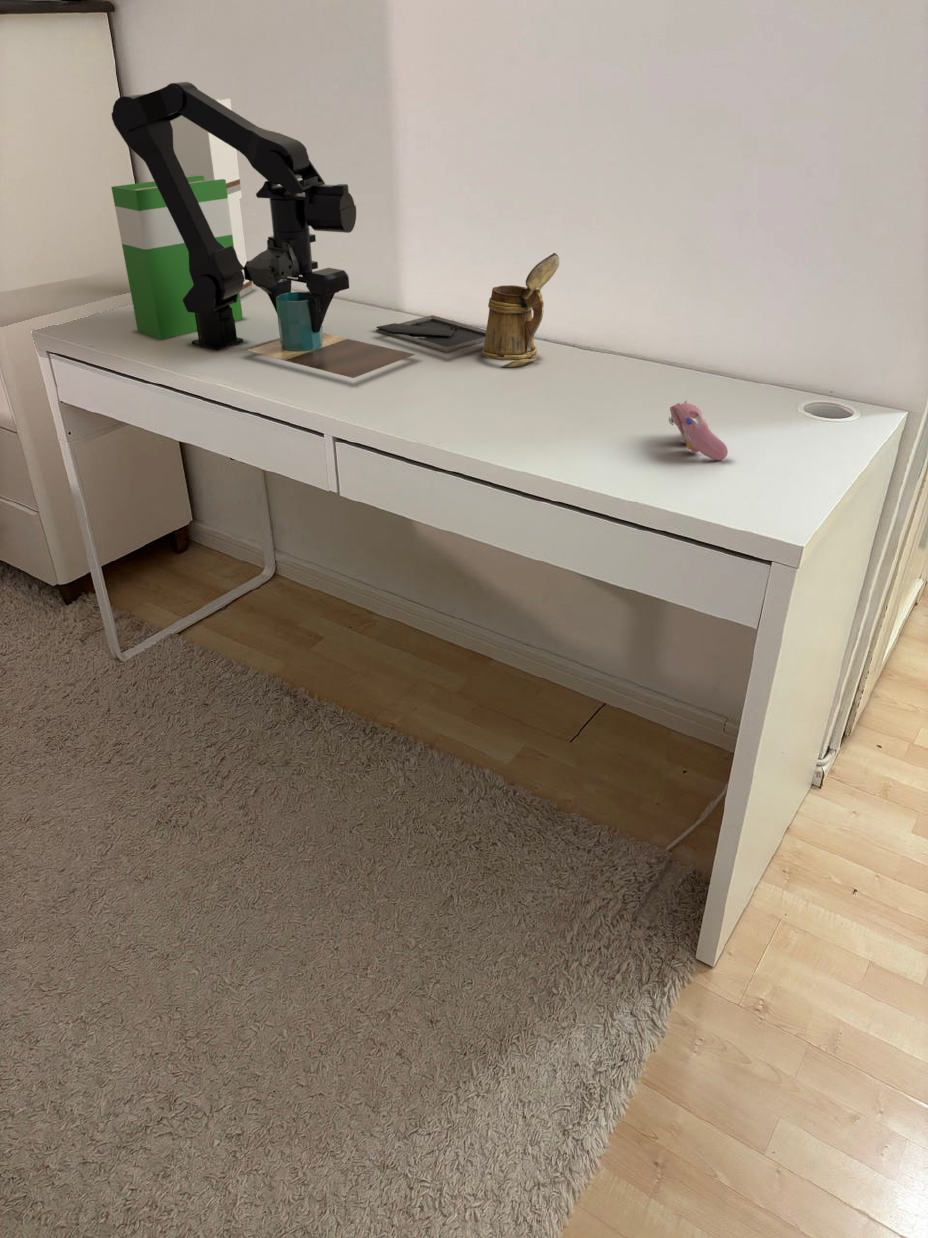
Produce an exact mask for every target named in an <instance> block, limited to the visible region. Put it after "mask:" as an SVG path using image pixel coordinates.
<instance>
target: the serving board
mask: <svg viewBox="0 0 928 1238" xmlns="http://www.w3.org/2000/svg"><path fill="white" fill-rule="evenodd" d="M245 351H246V352H250V353H253V354H258V355H262V356H265V357H270V358H273V359H278V360H282V361H285V362H289V363H292V364H297V365H301V366H305V367H308V368H313V369H316V370H321V371H325V372H327V373H331V374H336V375H340V376H344V377H348V378H351V379H355V378H358V377H361V376H363V375H366V374H368V373H370V372H374V371H376V370H378V369H381V368H383V367H386V366H389V365H391V364H394V363H397V362H400V361H401V360H404V359H407V358H410V357H412V356H415V355H416V353H412V352H408V351H403V350H399V349H395V348H390V347H387V346H382V345H378V344H372V343H369V342H364V341H359V340H355V339H350V338H347V337H341V336H337V335H332V334H329V333H323V346H322V347H320V348H318V349H315V350H311V351H289V350H285V349H283V348H282V347H281V343H280V339H278V340H274V341H272V342H268V343H265V344H262V345H259V346H256V347H252V348H249V349H246V350H245Z"/></svg>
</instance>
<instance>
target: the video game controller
mask: <svg viewBox="0 0 928 1238" xmlns="http://www.w3.org/2000/svg"><path fill="white" fill-rule="evenodd" d="M669 411H670V415H671V416H668V422H669V424H670V425H672V426H674V425H675V426H676V427H677V429H678V431H679V433H680V435H681V436H682V438H683V441H684V442H685V444H686V448H687V449H688V450H690V451H691V452H692V454H694V455H695V454H697V453H699V452H700V453H701V454H702V455H704V456H705V457H708V458H709V459H711V460H713V461H722V460H725V459H726V458H727V456H728V452H729V450H728V447H727V445H726V444H725V442H723V441H722V440H721V439H719V438H718V436H716V435H715V434H714V433H713V431H711V430H710V428H709V425H708V423H707V421H706V419H704V418H703V414H702V410H701V409H700V408H699V407H698V406H697V405H695V404H692V403H688V401H687V400H684V401H683V402H678V403H676V404H674V405H671V406H670V407H669Z"/></svg>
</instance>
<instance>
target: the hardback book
mask: <svg viewBox="0 0 928 1238" xmlns="http://www.w3.org/2000/svg"><path fill="white" fill-rule="evenodd" d="M186 178H187V180H188V182H189V184H190V186H191V188H192V191H193V193H194V195H195V197H196V199H197V201H198V203H199V205H200V207H201V210H202V212H203V214H204V216H205V218H206V220H207V222H208V224H209V226H210V229H211V231H212V233H213V235H214V237H215V239H216V240H217V241H218V242H219V243H220V244H221V245H222V246H223V247H224V248H226V247H229V246H233V248H234V244H233V236H232V228H231V220H230V212H229V204H228V196H227V187H226V180H225V179H219V180H212V181H204V176H194V177H186ZM111 193H112V198H113V204H114V210H115V214H116V219H117V225H118V232H119V236H120V242H121V247H122V252H123V258H124V264H125V268H126V269H125V270H126V274H127V279H128V285H129V290H130V296H131V301H132V307H133V313H134V318H135V323H136V328H137V332H138V333H141V334H144V335H147V336H150V337H153V338H155V339H158V340H163V339H168V338H173V337H176V336H181V335H184V334H188V333H193V332H197V326H196V319H195V313H192V312H188V311H187V309H186V307H185V305H184V303H183V298H184V297H185V296H186V295H187V293H188V292H189V291H190V289H191V288H192V287H193V285H194V284H193V281H192V278H191V275H190V272H189V253H188V249H187V247H186V245H185V243H184V241H183V239H182V237H181V235H180V233H179V231H178V229H177V227H176V225H175V222H174V220H173V218H172V216H171V214H170V212H169V210H168V208H167V206H166V204H165V202H164V200H163V198H162V196H161V194H160V192H159V190H158V188H157V185H156V183H155V181H154V180H153V181H146V182H138V183H130V184H123V185H122V184H121V185H114V186H113V185H112V186H111ZM230 307H231V308H232V311H233V317H234V319H235V322H238V321H243V320H244V317H243V310H242V300H241V297H240V292H239V295H238V300H237V302H236V303H233V304H230Z"/></svg>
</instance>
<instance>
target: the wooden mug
mask: <svg viewBox="0 0 928 1238" xmlns="http://www.w3.org/2000/svg"><path fill="white" fill-rule="evenodd" d="M559 266H560V257H559V255H558V254H557V253H556V252H553V253H551V254H550V255H549V256H547V257H545V258H544V259H542V260H541V261H540V262H538V263H537V264H536V265H535V266H534V267H533V268H532V269H531V270H530V272H529V273H528V275H527V276H526V279H525V286H520V285H515V284H513V285H498V286H493V287H492V289H491V290H492V291H491V295H490V297H489V299H488V304H487V307H488V309H489V311H488V317H487V323H486V329H485V330H486V336H485V342H484V343H483V347H482V350H481V353H482V355H483V356H484V357H486V358H489V359H493V360H498V361H510V362H508V363H506V364H503V365H501V367H502V368H517V367H519V368H520V367H525V366H528V365H530V364H533V363H534V362H535V361H536V360H537V358H538V357H537V356H538V348H537V346H535V339H534V336H535V334H536V332H537V330H538V329H539V327H540V325H541V323H542V320H543V317H544V310H545V309H544V307H545V306H544V305H545V304H544V299H543V295H542V291H541V290H542V288H543V287H545V285H546V284H547V283H548V282H549V281H550V280H551V279H552V278H553V276H554V275H555V273H557V270H558V269H559Z"/></svg>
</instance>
